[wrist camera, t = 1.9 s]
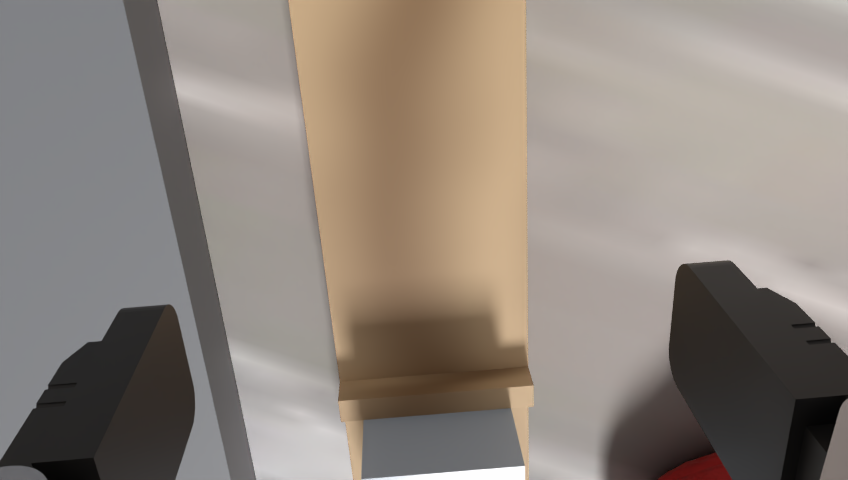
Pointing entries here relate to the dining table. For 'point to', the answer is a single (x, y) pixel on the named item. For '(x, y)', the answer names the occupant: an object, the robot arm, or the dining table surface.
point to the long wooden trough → (420, 202)
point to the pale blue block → (443, 447)
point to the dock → (102, 212)
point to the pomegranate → (699, 470)
